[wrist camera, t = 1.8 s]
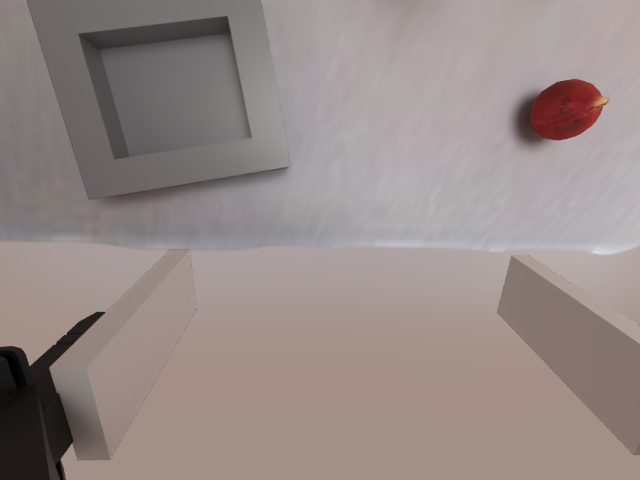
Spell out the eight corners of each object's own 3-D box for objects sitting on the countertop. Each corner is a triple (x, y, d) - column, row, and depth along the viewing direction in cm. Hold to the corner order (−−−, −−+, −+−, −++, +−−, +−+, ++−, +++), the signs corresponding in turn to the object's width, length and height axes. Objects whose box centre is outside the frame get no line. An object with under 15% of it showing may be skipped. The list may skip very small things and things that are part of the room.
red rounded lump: (537, 152, 39) (603, 147, 31) (503, 122, 38) (563, 109, 30) (568, 110, 39) (643, 94, 31) (535, 78, 37) (604, 53, 30)
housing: (60, 21, 30) (25, -4, 26) (258, -1, 32) (255, -29, 28) (112, 196, 34) (88, 199, 29) (288, 167, 36) (290, 166, 31)
